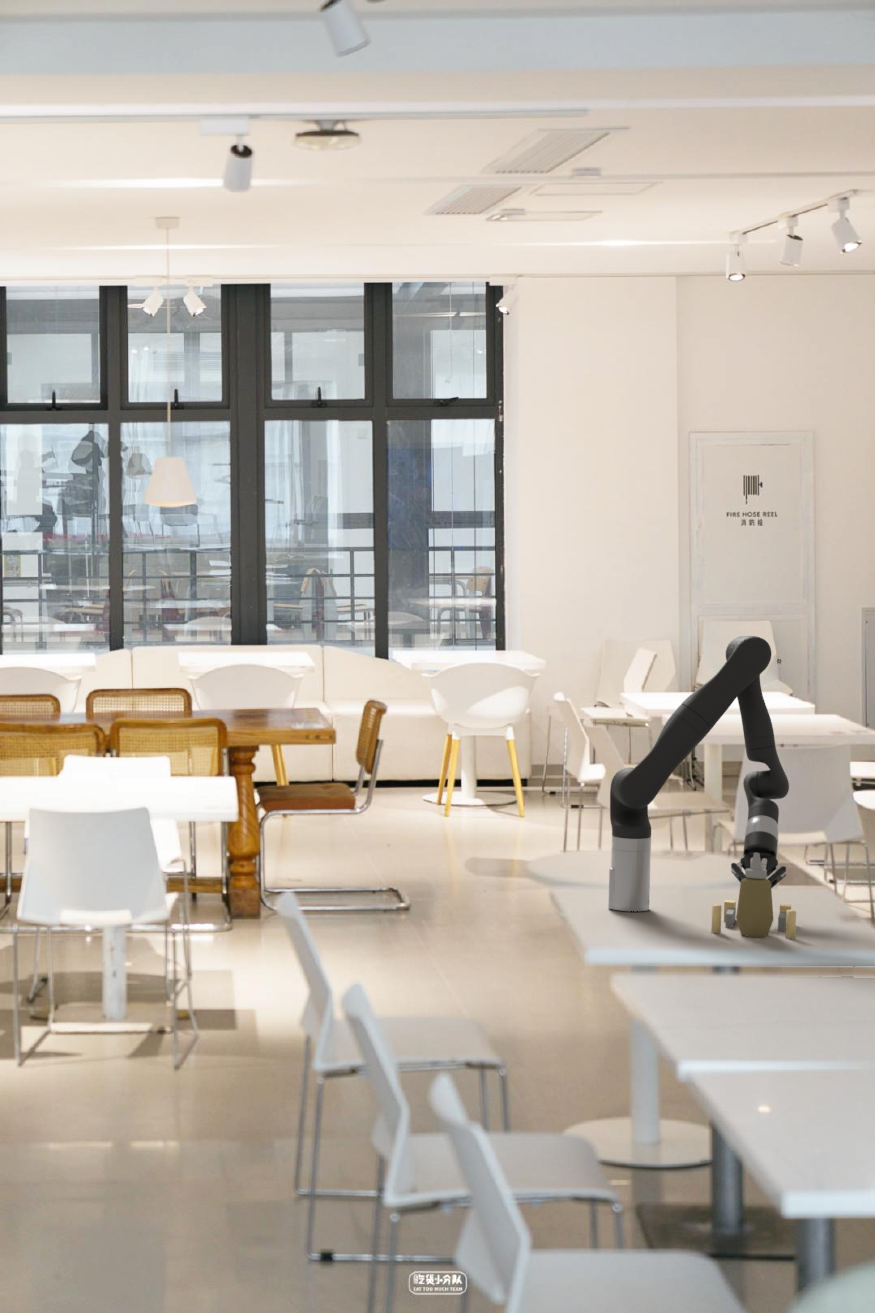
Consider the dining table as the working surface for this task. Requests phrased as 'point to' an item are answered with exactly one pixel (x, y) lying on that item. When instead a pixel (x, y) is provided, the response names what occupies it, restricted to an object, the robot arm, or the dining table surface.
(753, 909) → the squeeze bottle
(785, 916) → the wooden post frame
